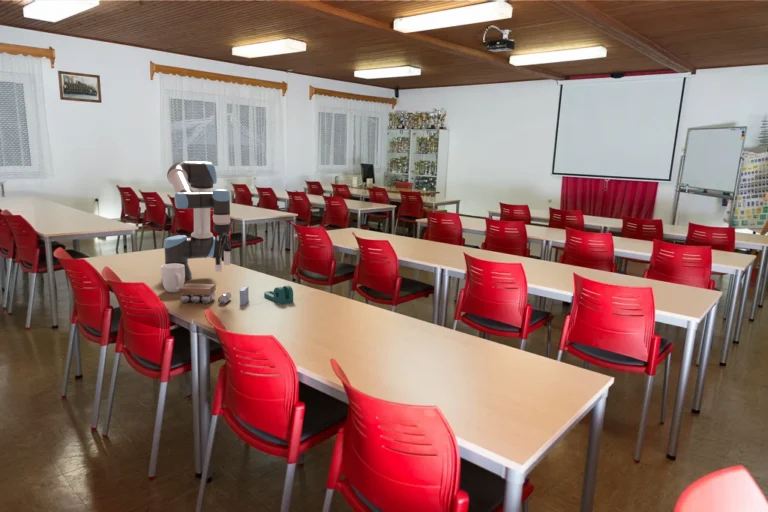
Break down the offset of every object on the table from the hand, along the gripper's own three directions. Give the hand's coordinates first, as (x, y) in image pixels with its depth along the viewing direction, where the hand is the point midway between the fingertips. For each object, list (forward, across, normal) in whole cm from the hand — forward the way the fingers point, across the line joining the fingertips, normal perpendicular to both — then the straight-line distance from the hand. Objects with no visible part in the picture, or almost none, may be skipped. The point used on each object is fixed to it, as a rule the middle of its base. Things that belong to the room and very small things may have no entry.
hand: (223, 268), depth 240 cm
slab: (+12, 0, -12) cm, 17 cm away
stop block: (+17, 0, +10) cm, 19 cm away
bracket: (+17, -7, +24) cm, 30 cm away
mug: (+17, -15, -29) cm, 37 cm away
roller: (+15, 0, 0) cm, 15 cm away
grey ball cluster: (+17, 0, -12) cm, 21 cm away
